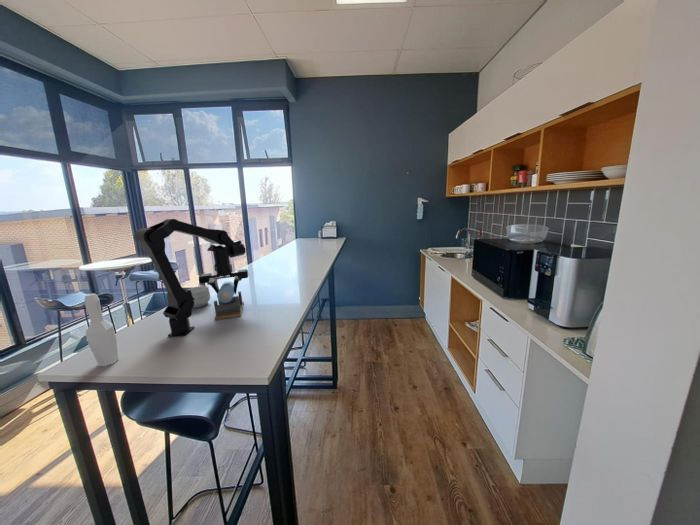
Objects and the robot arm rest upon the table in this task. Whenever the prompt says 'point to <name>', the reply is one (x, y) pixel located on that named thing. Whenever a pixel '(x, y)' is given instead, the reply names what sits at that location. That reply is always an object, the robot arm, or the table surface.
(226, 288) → the roll
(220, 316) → the holder
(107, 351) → the low poly bottle
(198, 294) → the teacup
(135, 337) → the table surface
